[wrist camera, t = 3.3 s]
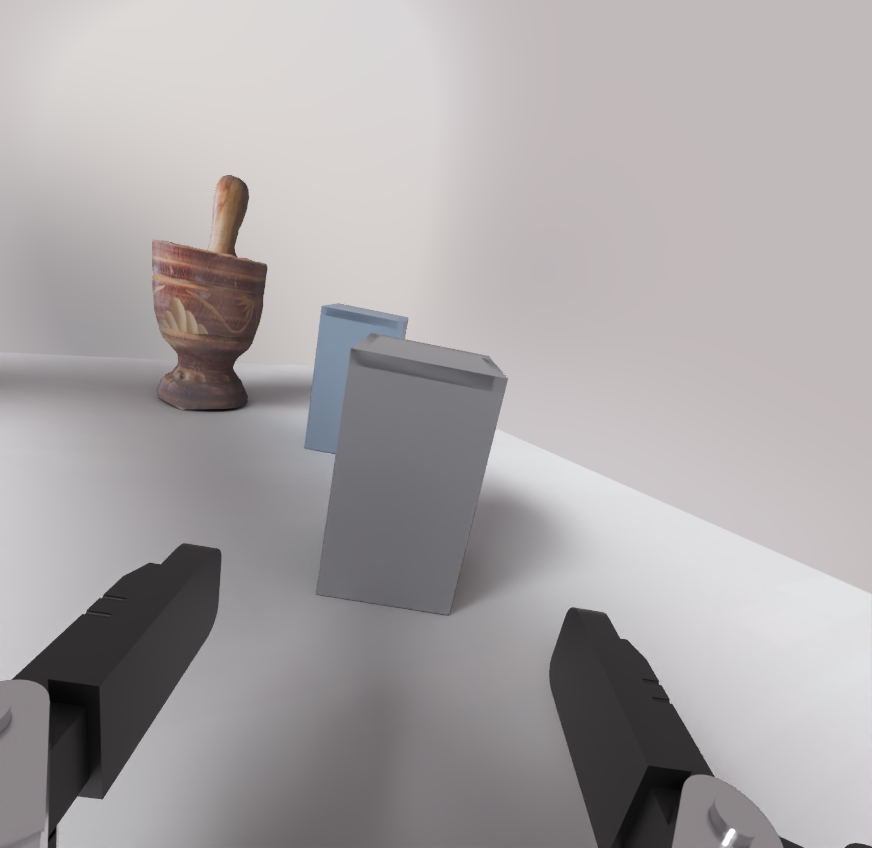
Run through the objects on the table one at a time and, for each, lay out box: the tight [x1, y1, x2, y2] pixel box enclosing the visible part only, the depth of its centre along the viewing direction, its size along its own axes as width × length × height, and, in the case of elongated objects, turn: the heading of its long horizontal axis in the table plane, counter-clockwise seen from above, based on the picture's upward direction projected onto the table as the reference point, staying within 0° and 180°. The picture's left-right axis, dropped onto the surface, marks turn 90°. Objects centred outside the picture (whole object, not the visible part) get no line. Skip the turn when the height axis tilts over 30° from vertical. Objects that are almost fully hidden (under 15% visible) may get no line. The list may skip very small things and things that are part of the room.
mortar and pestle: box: [152, 175, 267, 410], centre depth 39 cm, size 12×9×20 cm
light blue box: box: [305, 304, 408, 454], centre depth 36 cm, size 6×6×11 cm
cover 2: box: [316, 333, 508, 615], centre depth 21 cm, size 6×6×11 cm
